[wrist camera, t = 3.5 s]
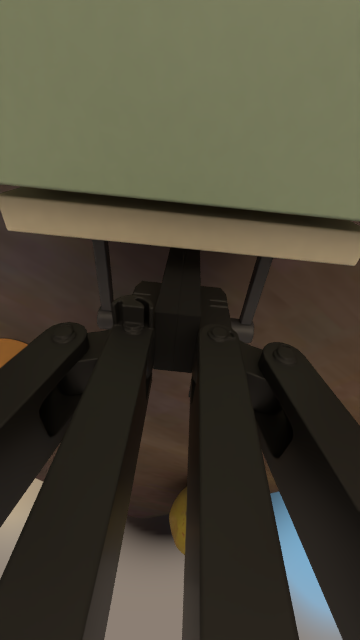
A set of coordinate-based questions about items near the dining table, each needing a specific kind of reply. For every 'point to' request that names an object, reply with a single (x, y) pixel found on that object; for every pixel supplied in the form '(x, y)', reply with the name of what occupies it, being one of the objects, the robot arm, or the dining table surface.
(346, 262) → the drawer
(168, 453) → the dining table surface
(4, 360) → the stepped orange cylinder
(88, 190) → the cabinet
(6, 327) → the dining table surface
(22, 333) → the dining table surface
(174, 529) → the fruit
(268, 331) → the dining table surface
